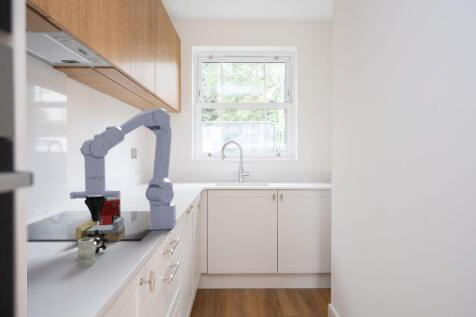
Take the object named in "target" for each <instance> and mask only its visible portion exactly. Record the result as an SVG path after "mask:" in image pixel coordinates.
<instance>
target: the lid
mask: <svg viewBox="0 0 476 317" xmlns="http://www.w3.org/2000/svg"><path fill="white" fill-rule="evenodd" d="M123 228H125V229H126V226H125V223H124V217H122V216H121V218H118V219H116V220H115V221H113V225H99V224H97V225H96V226H93V227H91V228H90V229H88V230H87V231H86V234H88V233H92V234H95V233H94V231H95V230H99V233H103V232H106V233H119V232H120V231H121V230H122V229H123Z"/></svg>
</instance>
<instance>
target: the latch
mask: <svg viewBox="0 0 476 317" xmlns="http://www.w3.org/2000/svg"><path fill="white" fill-rule="evenodd" d="M96 225H98V222H93V219H92V216H91V215H90V219H88V220H87V221H85V222H83V223H82V224H79V226H76V227H75V241H77V242H78V241H79V240H80V239H83V238H86V231H87V230H88V229H90V228H91V227H93V226H96Z"/></svg>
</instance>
